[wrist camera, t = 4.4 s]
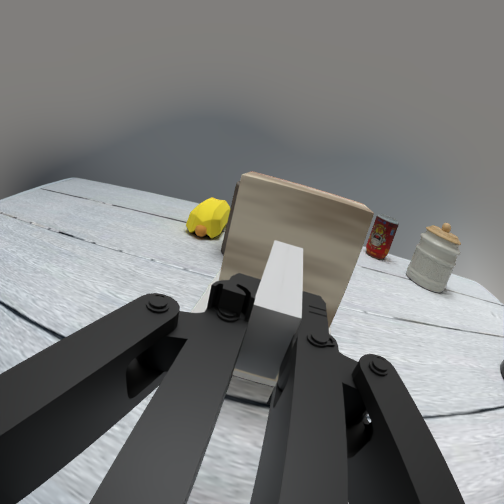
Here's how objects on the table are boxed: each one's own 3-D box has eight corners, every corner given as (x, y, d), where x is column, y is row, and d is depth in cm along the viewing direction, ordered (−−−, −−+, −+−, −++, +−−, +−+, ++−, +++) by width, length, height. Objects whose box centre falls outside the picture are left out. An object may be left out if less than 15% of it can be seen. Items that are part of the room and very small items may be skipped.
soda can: (361, 252, 78) (375, 212, 74) (368, 249, 84) (381, 212, 79) (381, 262, 74) (397, 222, 70) (387, 258, 80) (401, 221, 75)
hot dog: (230, 222, 75) (202, 216, 75) (235, 198, 72) (207, 191, 72) (215, 245, 58) (180, 236, 58) (222, 214, 56) (185, 205, 56)
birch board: (299, 387, 26) (373, 213, 19) (203, 360, 27) (241, 174, 20) (301, 362, 29) (363, 203, 23) (214, 337, 30) (251, 171, 24)
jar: (442, 298, 60) (469, 235, 53) (401, 277, 67) (426, 214, 60) (443, 285, 70) (466, 231, 63) (408, 267, 77) (429, 213, 70)
